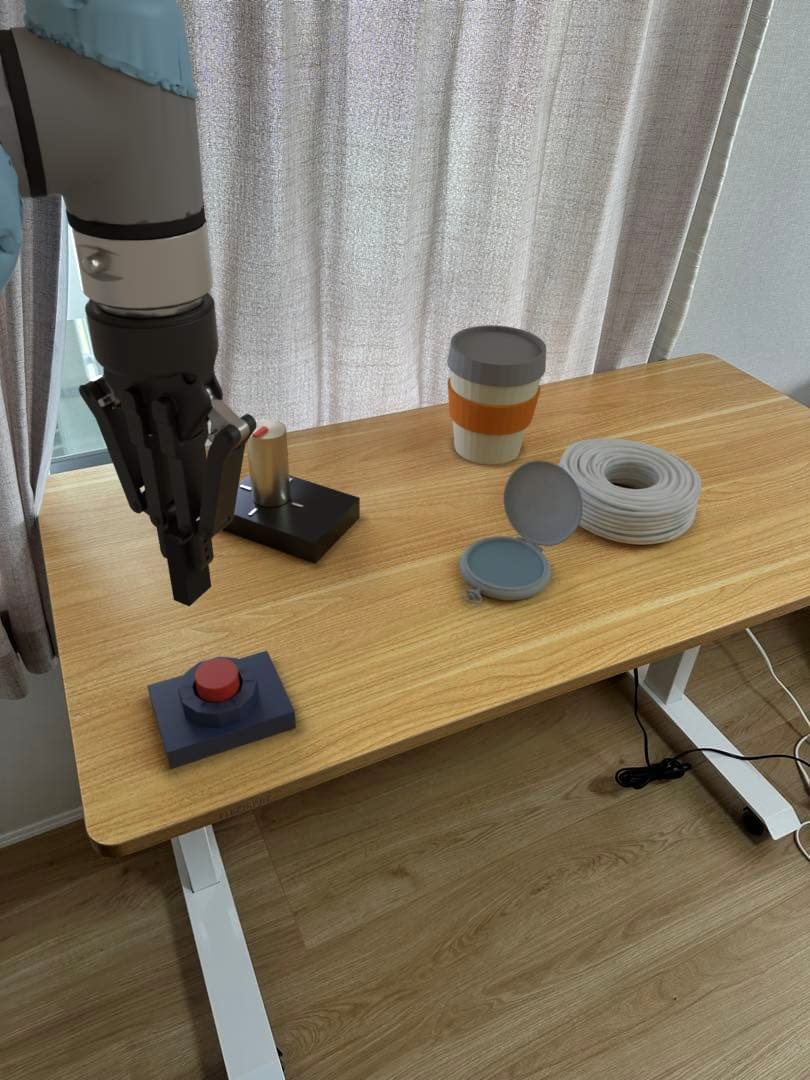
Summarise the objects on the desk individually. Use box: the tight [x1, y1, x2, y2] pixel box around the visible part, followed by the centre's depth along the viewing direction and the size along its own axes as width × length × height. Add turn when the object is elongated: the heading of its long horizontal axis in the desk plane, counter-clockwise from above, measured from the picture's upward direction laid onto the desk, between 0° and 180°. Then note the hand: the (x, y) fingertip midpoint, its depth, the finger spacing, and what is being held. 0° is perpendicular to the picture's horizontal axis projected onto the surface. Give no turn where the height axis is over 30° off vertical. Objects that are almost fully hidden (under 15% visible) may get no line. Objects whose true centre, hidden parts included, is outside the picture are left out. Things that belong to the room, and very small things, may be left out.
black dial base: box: [221, 474, 361, 565], centre depth 94 cm, size 14×10×3 cm
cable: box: [558, 437, 702, 545], centre depth 98 cm, size 18×18×6 cm
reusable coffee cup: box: [446, 324, 547, 466], centre depth 106 cm, size 13×13×15 cm
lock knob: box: [246, 418, 290, 507], centre depth 91 cm, size 4×4×9 cm
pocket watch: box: [458, 459, 583, 604], centre depth 86 cm, size 10×11×15 cm
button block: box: [146, 650, 297, 770], centre depth 71 cm, size 11×8×4 cm
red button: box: [195, 657, 240, 703], centre depth 69 cm, size 4×4×2 cm
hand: (192, 593), depth 62 cm, fingers closed
